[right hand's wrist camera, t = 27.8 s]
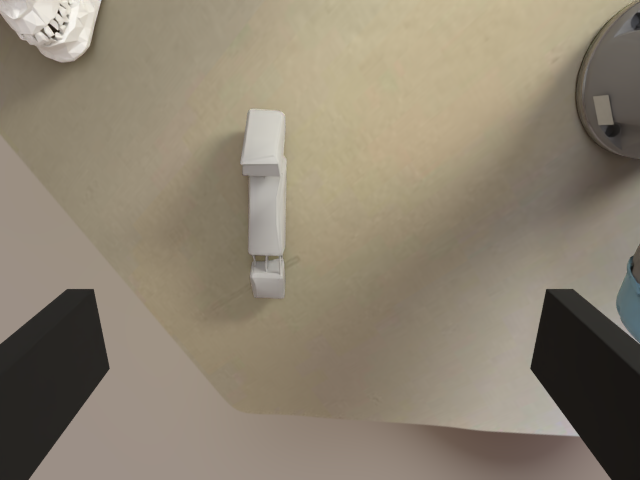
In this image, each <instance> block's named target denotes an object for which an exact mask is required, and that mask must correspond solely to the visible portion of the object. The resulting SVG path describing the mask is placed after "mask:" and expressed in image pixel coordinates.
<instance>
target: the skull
mask: <svg viewBox="0 0 640 480" xmlns="http://www.w3.org/2000/svg"><path fill="white" fill-rule="evenodd" d="M68 3H69V5H68ZM100 4H101V0H0V14H1V15H2V17H3V18H4V19H5V21H6V22H7V23H8V24H9V25H10V27H11V28H12V29H13V30H15V31H16V33H17V34H18V36H19V37H20V39H22V40H26V41H27V42H28V43H29V44H30V45H35V46H37V48H38V49H39V51H40V52H41V53H42V54H43V55H44V56H45V57H48V58H51V59H53V60H56V61H59V62H62V63H63V62H71V61H75V60H76V59H78V58H79V57H80V56H82V55H83V54H84V53H85V52H86V50H87V49H88V48H89V46H90V43H91V39H92V35H93V30H94V26H95V22H96V18H97V15H98V11H99V7H100ZM60 5H61V6H62V7H61V6H60ZM58 9H59V11H60V14H61V16H62V17H61V16H60V15H59V14H58V13H57V12H58ZM54 18H55V19H56V20H57V21H58V22H59V23H57V22H56V21H55V20H53V19H54ZM64 22H65V24H64V25H62V24H63V23H64ZM49 23H50V24H51V25H52V26H53V27H54V28H56V29H57V30H58V29H59V30H60V32H59V33H58V32H56V33H55V34H54V33H53V32H52V30H51V29H50V27H49V26H48V24H49ZM43 28H44V31H45V32H44V31H43ZM47 35H48V36H47ZM54 35H55V37H54V38H51V37H52V36H54Z"/></svg>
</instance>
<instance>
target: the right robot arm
mask: <svg viewBox="0 0 640 480" xmlns="http://www.w3.org/2000/svg"><path fill="white" fill-rule="evenodd" d="M576 100H577V109H578V113H579V117H580V119H581V122H582V124H583V126H584V128H585V130H586V132H587V133H588V135H589V136H590V137H591V138H592V139H593V140H594V141H595V142H596V143H597V144H598V145H600V146H601V147H602V148H604V149H606V150H608V151H609V152H612V153H614V154H617V155H621V156H625V157H629V158H635V159H640V0H636V1H635V2H633V3H631V4H629V5H628V6H627V7H625V8H624V9H622V10H621V11H620V12H619V13H617V14H616V15H615V16H614V17H613V18H612V19H611V20H610V21H609V22H608V23H607V24H606V25H605V26H604V27H603V28H602V29H601V31H600V32H599V33H598V35H597V36H596V37H595V39H594V41H593V42H592V44H591V45H590V47H589V49H588V51H587V53H586V55H585V57H584V60H583V62H582V65H581V68H580V72H579V76H578V81H577V90H576ZM616 306H617V310H618V313H619V315H620V317H621V321H622V323H623V324H624V326H625V327H626V329H627V330H628V331H629V332H630V333H631V335H632V336H633V337H634V338H635V339H636V340H637V341H638V342H639V343H640V244H639V246H638V248H637V250H636V252H635V254H634V255H633V256H632V257H630V259H629V261H628V264H627V274H626V276H625V278H624V281H623V283H622V286H621V288H620V290H619V293H618V295H617V301H616ZM638 342H636V341H635V340H634V339H633V338H631V337H630V336H629V335H628V334H627V333H625V332H624V331H623V330H622V329H621V328H619V327H618V326H617V325H616V324H614V323H613V322H612V321H611V320H610V319H608V318H607V317H606V316H605V315H604V314H602V313H601V312H600V311H599V310H597V309H596V308H595V307H594V306H593V305H591V304H590V303H589V302H588V301H587V300H585V299H584V298H583V297H582V296H581V295H579V294H578V293H577V292H576V291H574V290H573V289H546V294H545V299H544V303H543V308H542V313H541V318H540V323H539V328H538V333H537V338H536V343H535V348H534V353H533V358H532V363H531V368H530V369H531V370H532V372H533V373H534V374H535V376H536V377H537V378H538V380H539V381H540V382H541V384H542V385H543V387H544V388H545V389H546V391H547V392H548V393H549V395H550V396H551V398H552V399H553V400H554V402H555V403H556V404H557V406H558V407H559V408H560V410H561V411H562V413H563V414H564V415H565V417H566V418H567V419H568V421H569V422H570V424H571V425H572V426H573V428H574V429H575V430H576V432H577V433H578V434H579V436H580V437H581V439H582V440H583V441H584V443H585V444H586V445H587V447H588V448H589V449H590V451H591V452H592V454H593V455H594V456H595V458H596V459H597V460H598V462H599V463H600V465H601V466H602V467H603V469H604V470H605V471H606V473H607V474H608V476H609V477H610V478H611V480H640V344H639V343H638ZM108 370H109V363H108V358H107V353H106V348H105V343H104V338H103V333H102V328H101V323H100V319H99V313H98V308H97V304H96V299H95V294H94V289H67V290H66V291H64V292H63V293H62V294H61V295H59V296H58V297H57V298H56V299H55V300H53V301H52V302H51V303H50V304H49V305H47V306H46V307H45V308H44V309H43V310H41V311H40V312H39V313H38V314H37V315H35V316H34V317H33V318H32V319H30V320H29V321H28V322H27V323H26V324H24V325H23V326H22V327H21V328H19V329H18V330H17V331H16V332H15V333H13V334H12V335H11V336H10V337H9V338H7V339H6V340H5V341H4V342H2V343H1V344H0V480H29V478H30V477H31V476H32V474H33V473H34V471H35V470H36V469H37V467H38V466H39V465H40V463H41V462H42V460H43V459H44V458H45V456H46V455H47V454H48V452H49V451H50V450H51V448H52V447H53V445H54V444H55V443H56V441H57V440H58V439H59V437H60V436H61V434H62V433H63V432H64V430H65V429H66V428H67V426H68V425H69V423H70V422H71V421H72V419H73V418H74V417H75V415H76V414H77V413H78V411H79V410H80V408H81V407H82V406H83V404H84V403H85V402H86V400H87V399H88V398H89V396H90V395H91V393H92V392H93V391H94V389H95V388H96V387H97V385H98V384H99V382H100V381H101V380H102V378H103V377H104V376H105V374H106V373H107V371H108Z"/></svg>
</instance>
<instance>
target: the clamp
mask: <svg viewBox="0 0 640 480" xmlns="http://www.w3.org/2000/svg"><path fill="white" fill-rule="evenodd" d="M285 132H286V122H285V115H284V113H283V112H281V111H279V110H267V109H253V108H251V109H250V110H249V111H248V113H247V121H246V128H245V135H244V142H243V149H242V155H241V162H240V164H242V175H249V191H248V210H249V226H248V252H249V254H250V255H252V257H253V260H254V261H253V262H252V266H251V271H250V282H251V287H252V290H253V294H254V297H255V298H284V296H285V283H286V281H285V267H284V260H283V252H284V249H285V242H286V176H287V159H286V158H285V156H284V155H283V153H284V142H285ZM255 255H263V256H266V257H265V261H256V260H255ZM268 256H279V258H278V259H274V260H269V261H268Z"/></svg>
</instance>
